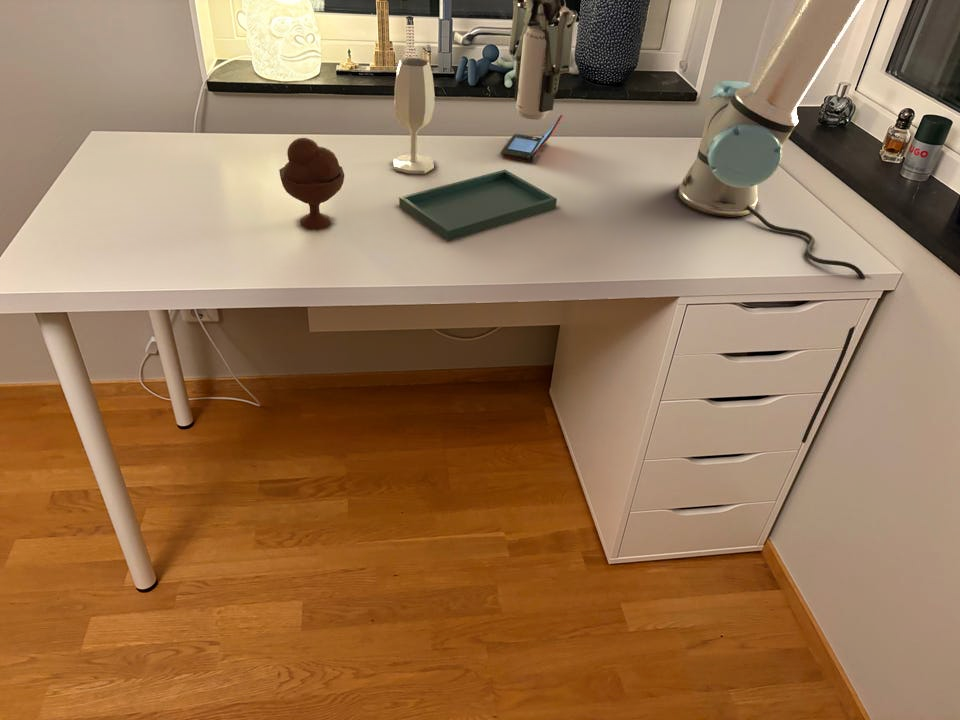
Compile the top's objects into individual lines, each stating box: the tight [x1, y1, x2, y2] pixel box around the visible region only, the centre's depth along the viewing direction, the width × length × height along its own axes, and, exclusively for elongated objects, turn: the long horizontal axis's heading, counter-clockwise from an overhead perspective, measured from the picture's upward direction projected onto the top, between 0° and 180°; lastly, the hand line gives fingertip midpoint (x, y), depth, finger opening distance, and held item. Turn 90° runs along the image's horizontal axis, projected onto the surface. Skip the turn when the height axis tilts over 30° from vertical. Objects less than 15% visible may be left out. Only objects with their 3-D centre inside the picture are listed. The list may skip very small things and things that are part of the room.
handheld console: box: [500, 114, 563, 163], centre depth 165 cm, size 12×11×7 cm
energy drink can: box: [515, 25, 555, 121], centre depth 133 cm, size 6×6×15 cm
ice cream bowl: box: [278, 137, 345, 231], centre depth 130 cm, size 11×11×15 cm
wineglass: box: [392, 57, 436, 175], centre depth 151 cm, size 9×9×21 cm
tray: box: [398, 169, 558, 242], centre depth 143 cm, size 16×26×2 cm, turn 128°
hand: (533, 104), depth 137 cm, fingers closed on energy drink can, 6 cm apart
